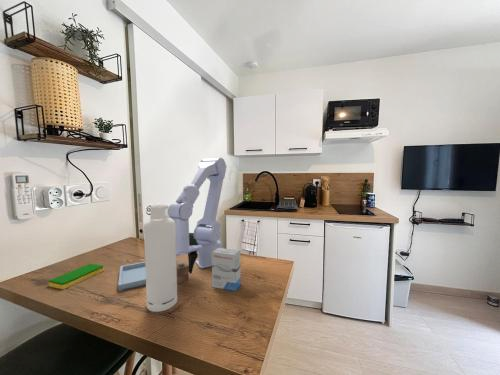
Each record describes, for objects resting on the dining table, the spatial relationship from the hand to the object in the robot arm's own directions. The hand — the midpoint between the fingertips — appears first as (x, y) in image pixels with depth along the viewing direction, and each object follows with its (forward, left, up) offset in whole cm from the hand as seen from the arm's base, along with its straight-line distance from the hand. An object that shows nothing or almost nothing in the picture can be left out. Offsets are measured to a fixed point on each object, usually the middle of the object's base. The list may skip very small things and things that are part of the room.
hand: (181, 274), depth 73 cm
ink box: (-12, +12, -2) cm, 17 cm away
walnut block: (0, 0, -2) cm, 2 cm away
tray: (+12, -10, -2) cm, 16 cm away
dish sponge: (+32, -20, -2) cm, 38 cm away
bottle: (+8, +11, -2) cm, 14 cm away
